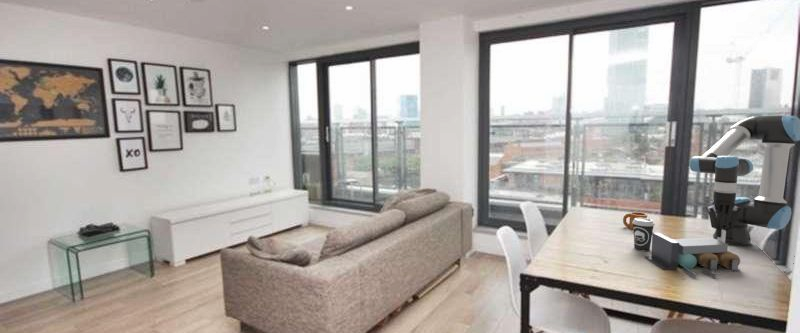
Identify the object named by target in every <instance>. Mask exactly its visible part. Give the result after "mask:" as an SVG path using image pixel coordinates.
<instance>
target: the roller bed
mask: <svg viewBox="0 0 800 333" xmlns="http://www.w3.org/2000/svg"><path fill="white" fill-rule="evenodd" d="M738 263H739V260H738V259H730V269H728V268H718V267H717V266H718V265H717V259H709V269H708V268H706V267H704V266H702V270H701V271H702V273H703V274H705V275H707V276H709V277H710V278H712V279H717V273H716V272H741V269H739V265H738ZM697 265H698V263H696V265H695V266H694V267H698V266H697ZM694 267H693V268H694ZM682 272H683V273H685V274H686V275H687V276H689V277H691V278H692V279H697V273H696V272H695V271H692V270H691V269H687V268H686V267H682Z"/></svg>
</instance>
